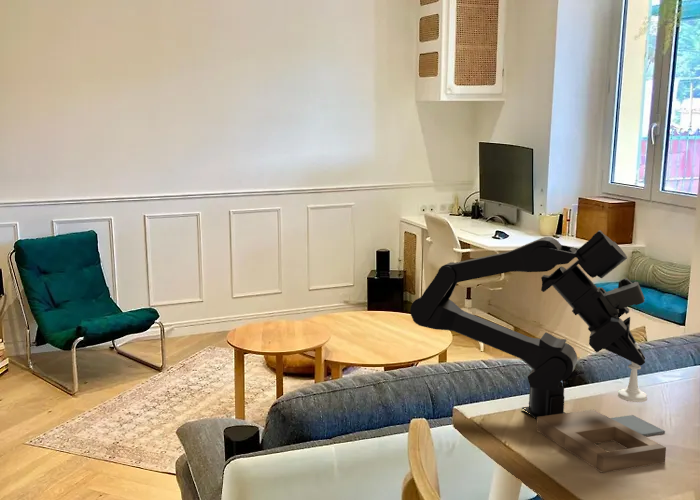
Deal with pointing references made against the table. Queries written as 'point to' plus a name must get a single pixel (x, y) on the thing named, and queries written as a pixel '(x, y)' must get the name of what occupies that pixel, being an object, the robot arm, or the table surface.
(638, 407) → the table surface
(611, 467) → the brown slab with hole
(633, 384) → the chess piece
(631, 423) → the rubber mat
